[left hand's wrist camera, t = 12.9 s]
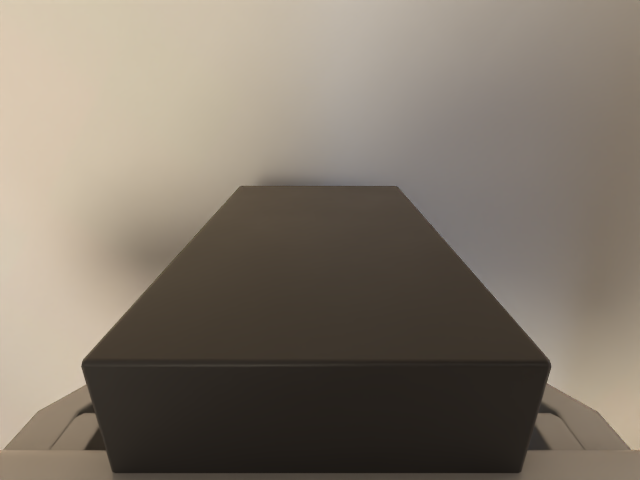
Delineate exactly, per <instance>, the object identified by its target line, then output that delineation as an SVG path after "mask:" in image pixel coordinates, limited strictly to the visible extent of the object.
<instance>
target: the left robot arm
mask: <svg viewBox="0 0 640 480" xmlns="http://www.w3.org/2000/svg"><path fill="white" fill-rule="evenodd" d="M0 480H640V450H631V449H630V448H629V447H628V446H627V444H626V443H625V442H624V441H623V440H622V439H621V438H620V436H619V435H618V434H617V433H616V432H615V431H614V430H613V429H612V427H611V426H610V425H609V424H608V423H607V422H606V421H605V419H604V418H603V417H602V416H601V415H600V414H599V413H598V412H597V411H595V410H593V409H592V408H590V407H588V406H586V405H584V404H583V403H581V402H579V401H577V400H576V399H574V398H572V397H570V396H568V395H567V394H565V393H563V392H561V391H560V390H558V389H556V388H554V387H552V386H551V385H549V384H546V387H545V391H544V394H543V398H542V401H541V405H540V408H539V412H538V415H537V419H536V422H535V426H534V429H533V433H532V436H531V440H530V443H529V447H528V450H527V454H526V457H525V461H524V464H523V468H522V471H521V472H520V473H114V472H112V470H111V466H110V463H109V459H108V456H107V453H106V449H105V446H104V442H103V439H102V435H101V432H100V429H99V425H98V422H97V418H96V415H95V411H94V408H93V405H92V401H91V398H90V394H89V391H88V387H87V385H85V386H83V387H81V388H79V389H78V390H76V391H74V392H72V393H70V394H69V395H67V396H65V397H63V398H61V399H60V400H58V401H56V402H54V403H52V404H51V405H49V406H47V407H45V408H43V409H42V410H40V411H38V412H37V413H36V414H35V415H34V416H33V417H32V419H31V420H30V421H29V422H28V423H27V424H26V425H25V426H24V427H23V429H22V430H21V431H20V432H19V433H18V434H17V435H16V436H15V437H14V438H13V440H12V441H11V442H10V443H9V444H8V445H7V446H6V447H5V448H4V450H0Z"/></svg>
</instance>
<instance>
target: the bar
mask: <svg viewBox="0 0 640 480" xmlns="http://www.w3.org/2000/svg"><path fill="white" fill-rule="evenodd" d="M81 367H82V370H83V374H84V377H85V381H86V384H87V387H88V391H89V394H90V398H91V401H92V405H93V408H94V411H95V415H96V418H97V422H98V425H99V429H100V432H101V435H102V439H103V442H104V446H105V449H106V453H107V456H108V459H109V463H110V466H111V470H112V472H114V473H520V472H521V471H522V468H523V464H524V461H525V457H526V454H527V450H528V447H529V443H530V440H531V436H532V433H533V429H534V426H535V422H536V419H537V415H538V412H539V408H540V405H541V401H542V398H543V394H544V391H545V387H546V384H547V380H548V377H549V373H550V370H551V363H550V360H549V359H548V358H547V357H546V356H545V355H544V353H543V352H542V351H541V350H540V349H539V348H538V347H537V345H536V344H535V343H534V342H533V341H532V340H531V339H530V337H529V336H528V335H527V334H526V333H525V332H524V331H523V329H522V328H521V327H520V326H519V325H518V324H517V323H516V321H515V320H514V319H513V318H512V317H511V316H510V315H509V313H508V312H507V311H506V310H505V309H504V308H503V307H502V305H501V304H500V303H499V302H498V301H497V300H496V299H495V297H494V296H493V295H492V294H491V293H490V292H489V291H488V289H487V288H486V287H485V286H484V285H483V284H482V283H481V281H480V280H479V279H478V278H477V277H476V276H475V275H474V273H473V272H472V271H471V270H470V269H469V268H468V267H467V265H466V264H465V263H464V262H463V261H462V260H461V259H460V257H459V256H458V255H457V254H456V253H455V252H454V251H453V249H452V248H451V247H450V246H449V245H448V244H447V243H446V241H445V240H444V239H443V238H442V237H441V236H440V235H439V233H438V232H437V231H436V230H435V229H434V228H433V227H432V225H431V224H430V223H429V222H428V221H427V220H426V219H425V217H424V216H423V215H422V214H421V213H420V212H419V211H418V209H417V208H416V207H415V206H414V205H413V204H412V203H411V201H410V200H409V199H408V198H407V197H406V196H405V195H404V193H403V192H402V191H401V190H400V189H399V188H398V187H397V186H240V187H239V188H238V189H237V190H236V191H235V193H234V194H233V195H232V196H231V197H230V198H229V199H228V200H227V201H226V203H225V204H224V205H223V206H222V207H221V208H220V209H219V210H218V211H217V212H216V214H215V215H214V216H213V217H212V218H211V219H210V220H209V221H208V222H207V224H206V225H205V226H204V227H203V228H202V229H201V230H200V231H199V232H198V233H197V235H196V236H195V237H194V238H193V239H192V240H191V241H190V242H189V243H188V245H187V246H186V247H185V248H184V249H183V250H182V251H181V252H180V253H179V254H178V256H177V257H176V258H175V259H174V260H173V261H172V262H171V263H170V264H169V266H168V267H167V268H166V269H165V270H164V271H163V272H162V273H161V274H160V275H159V277H158V278H157V279H156V280H155V281H154V282H153V283H152V284H151V285H150V287H149V288H148V289H147V290H146V291H145V292H144V293H143V294H142V295H141V296H140V298H139V299H138V300H137V301H136V302H135V303H134V304H133V305H132V306H131V308H130V309H129V310H128V311H127V312H126V313H125V314H124V315H123V316H122V317H121V319H120V320H119V321H118V322H117V323H116V324H115V325H114V326H113V327H112V328H111V330H110V331H109V332H108V333H107V334H106V335H105V336H104V337H103V338H102V340H101V341H100V342H99V343H98V344H97V345H96V346H95V347H94V348H93V349H92V351H91V352H90V353H89V354H88V355H87V356H86V357H85V358H84V359H83V362H82V366H81Z"/></svg>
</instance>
